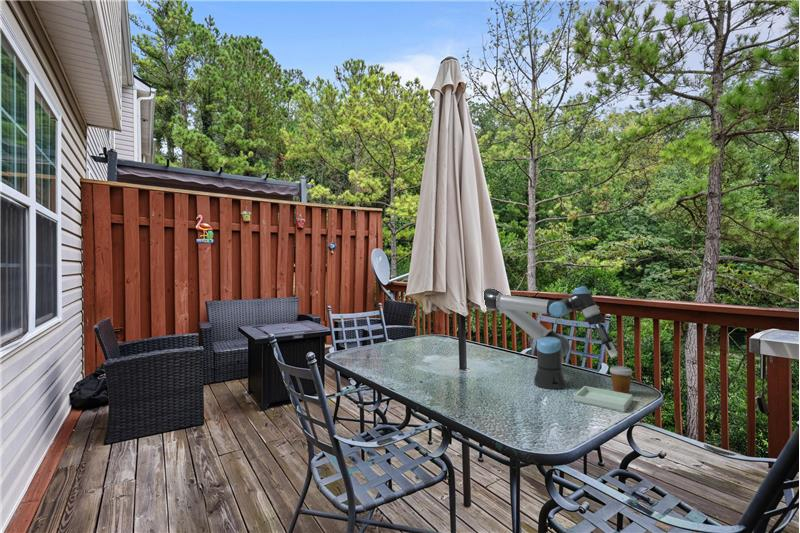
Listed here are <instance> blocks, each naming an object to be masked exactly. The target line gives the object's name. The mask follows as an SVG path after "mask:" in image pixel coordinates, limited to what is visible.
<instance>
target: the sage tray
mask: <svg viewBox="0 0 800 533" xmlns="http://www.w3.org/2000/svg"><path fill="white" fill-rule="evenodd" d="M573 402H574V403H579V404H582V405H589V406H590V407H591V406H593V407H596V408H601V409H606V410H609V411H610V410H611V411H615V412H621V413H625V412H626V411H627V409H628V408H629V407H630V405H631V404H632V402H633V394H631V393H629V394H626V393H621V392H615V391H613V390H609V389H603V388H598V387H593V386H586V385H584V386H582V387H581V388H580V389H579V390H578V391H577V392H575V393H574V394H573Z"/></svg>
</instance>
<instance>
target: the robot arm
mask: <svg viewBox="0 0 800 533" xmlns="http://www.w3.org/2000/svg"><path fill="white" fill-rule="evenodd" d="M491 288H492V287H491ZM491 288H486V289H484V290H485V291H484V290H483V291H484V300H485V305H486V307H487V308H486V309H487V310H494V311H497V313H498V314H504V315H505V316H506V317H507V318H509V319H510V320H511V321H512V322H513V323H515V324H516V325H517V326H518V327H519V328H520V329H522V330H523V331H524V332H525V333H527V335H529V336H530V337H531V338H533V339H534V340H535V341H536V360H537V361H536V362H537V363H536V364H537V365H536V366H537V369H536V373H535V375H534V378H533V385H534V386H537V387H539V388H542V389H546V390H547V389H548V390H560V389H565V388H566V387H567V385H566V384H567V381H566V378H565V375H564V373H563V366H562V364H563V363H562V360H563V358H565V357H566V356H567V355H568V354H569V352H570V348H571V343H570V342H569V339H568V338H566V337H565V336H563V334H562V335H561V334H558V333H556V332H555V331H554V330H553V329H547V328H546V327H545V326H543V325H542V324H541V323H540V322H539V321H537V320H536V319H535V318H534V317H532V316H531V315H530V314H529V313H535V314H542V315H549V316H553V317H555V318H562V317H565V315H567V314H569V313H571V312H574V311H575V310H578V309H580V310H581V312H582V314H583V316H584V317H585V318H586V321H587V323H588V325H589V326H593V325H594V329H595V331H596V332H597V334H598V336H599V338H600V340H601V345H602V346H604V347H605V349H606V351H607V353H608V355H609V357H610V358H614V357H617V356H618V354H619V353H618V351H617V349H616V347H615V345H614V344H613V341H614V340H613V339H612V338H610V336H609V334H608V333H607V330H606V327H605V325H604V324H602V323H601V322H603V321H604V320H605V318H604V316H603V315H602V313H601V311H600V306H598V305H597V303H596V301H595V299H594V297H593V295H592V293H591V292H590V290H589V289H588V287H587V286H586V285H582V286H579V287H576V288H575V289H573V290H572V292H571V293H572V295H570V296H568V297H565V298H562V299H561V300H551V299H541V298H535V297H527V296H517V295H510V294H509V295H503V294H502V293H501V292H499V291H497V290H495V289H491ZM496 299H497V300H496Z"/></svg>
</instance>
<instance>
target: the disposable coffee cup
mask: <svg viewBox="0 0 800 533" xmlns="http://www.w3.org/2000/svg"><path fill="white" fill-rule="evenodd" d="M609 372H610V377H611V382H612V384H611V385H612V389H613V390H612V391H615V392H621V393H626V394H630V389H631V380H632V375H633V370H632V368H630V367H628V366H625V365H624V366H622V365H612V366H610V369H609Z"/></svg>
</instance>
